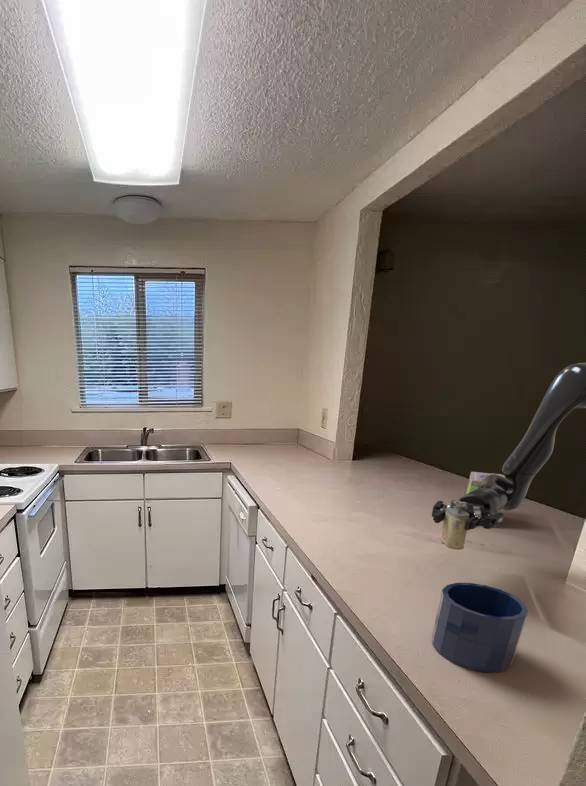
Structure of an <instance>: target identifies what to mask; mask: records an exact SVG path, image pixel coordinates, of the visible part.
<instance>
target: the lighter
mask: <svg viewBox="0 0 586 786" xmlns="http://www.w3.org/2000/svg"><path fill="white" fill-rule="evenodd" d="M456 502H457V503H456ZM454 504H456V505H457V506H454ZM449 505H450V506H448V507H447V509H446V512H445V516H444V520H443V521H442V527H441V531H440V536H439V541H440V542H441V544H442V545H444V546H445V547H446V548H448V549H451V550H457V551H459V550H464V548H465V547H464V546H465V542H466V537H467V533H468V530H465V526H466V522H467V520H468V519H469V513H467V512H466V511H465V510H464V509H468V506H467V503H466V502H462V501H461V500H459V499H458V500H457V501H456V500H455V499H453V498H452V499H450V504H449Z"/></svg>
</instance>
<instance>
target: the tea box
mask: <svg viewBox="0 0 586 786" xmlns="http://www.w3.org/2000/svg"><path fill="white" fill-rule="evenodd" d="M492 474H493V473H490V472H480V471H471V472H470V474H469V478H468V482H467V486H466V491H465V495H466V494H468V493H470V492H472V491H474V490H476V489H478V486H479V484H480V483H481V482H482V480H483V479H484V478H486V477H487V476H489V475H492ZM496 474H497V475H500V476H502V477H504V478H506V475H505V474H501V473H496ZM501 511H502V509H501V510H499V511H498V512H497V513H501ZM494 528H497V526H495V527H494Z"/></svg>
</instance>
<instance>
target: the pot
mask: <svg viewBox="0 0 586 786" xmlns="http://www.w3.org/2000/svg"><path fill="white" fill-rule="evenodd" d="M529 611H530V610H529V609H528V607H527V605H526V603H525V602H524V601H523V600H521V599H519V598H518V597H517V596H515V595H513V594H511V593H509V592H507V591H505V590H502V589H500V588H496V587H493V586H489V585H487V584H479V583H474V582H454V583H450V584H447V585H445V586H444V587H443V588H442V590H441V594H440V597H439V603H438V607H437V612H436V616H435V620H434V624H433V625H434V626H433V630H432V635H431V644H432V646H433V648H434V650H435V651H436V652H437V653H438V654H439V655H440V656H442V657H443V658H444V659H446V660H447V661H449V662H451V663H453V664H455V665H457V666H459V667H462V668H464V669H467V670H470V671H473V672H474V671H475V672H479V673H484V674H485V673H486V674H498V673H503V672H505V671H508V670H509V669H510V668H511V667H512V664H513V662H514V660H515V658H516V657H515V656H516V653H517V651H518V647H519V643H520V641H521V637H522V634H523V631H524V628H525V624H526V620H527V618H528V614H529Z"/></svg>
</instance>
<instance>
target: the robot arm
mask: <svg viewBox="0 0 586 786" xmlns="http://www.w3.org/2000/svg"><path fill="white" fill-rule="evenodd" d="M574 409H586V362H578V363H576V362H575V363H573V364H570V365H568V366H565V367H564V368H563V369H561V370H560V371H559V372H558V373H557V374H556V376H555V377H554V378H553V381H551V383H550V385H549V386H548V389H547V390H546V392H545V395H544V396H543V399H542V401H541V403H540V404H539V406H538V408H537V410H536V412H535V414H534V416H533V417H532V420H531V422H530V424H529V426H528V428H527V430H526V432H525V433H524V436H523V437H522V439H521V440H520V442H518V444H517V446H516V447H515V448H514V449H513V451H512V452H511V453H510V455H509V456H508V458H507V459H506V460H505V462H504V463H503V464H502V467H501V471H502V472H503V475H505V478H504V477H502V476H500V475H497V474H498V473H491V474H492V475H489V476H487V477H486V478H484V479H483V480H482V482H481V483H480V484H479V486H478V489H476V490H474V491H472V492H470V493H468V494H466V493H465V495H463V496H461V497H459V499H458V500H461V501H462V502H466V503H467V506H468V509H464V510H465V511H466V512H467V513H469V519H468V520H467V522H466V526H465V530H467V531H470V530H475V529H476V528H480V527H482V528H483V529H485V530H490V529H493V528H496V527H499V526H501V525H502V522H503V520H504V513H503V512H500V513H497V512H498V511H499V510H501V511H502V510H503V511H507V512H509V511H514V510H516V509H517V508H519V507H520V506H521V505H522V504H523V502H524V501H525V498H526V496H527V493H528V490H529V487H530V485H531V483H532V481H533V479H534V478H535V476H536V475H537V473H539V471H540V470H541V469H542V468H543V466H545V464H546V463H547V461H548V460H549V459H550V458H551V455H552V454H553V451H554V448H555V440H556V434H557V430H558V427H559V426H560V425H561V423H562V421H563V420H564V419H565V418H566V417H567V416H568V415H569V414H570V413H571V412H573V410H574ZM455 502H456V503H457V501H455ZM448 506H450V504H445V502H444V501H442V500H438V501H437V502H435V504H434V505H433V506H432V511H431V518H432V519H433V522H434V523H435V524H439V523H442V522H443V521H444V516H445V512H446V509H447V507H448ZM454 506H457V505H456V504H455V503H454ZM495 526H496V527H495Z"/></svg>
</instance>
